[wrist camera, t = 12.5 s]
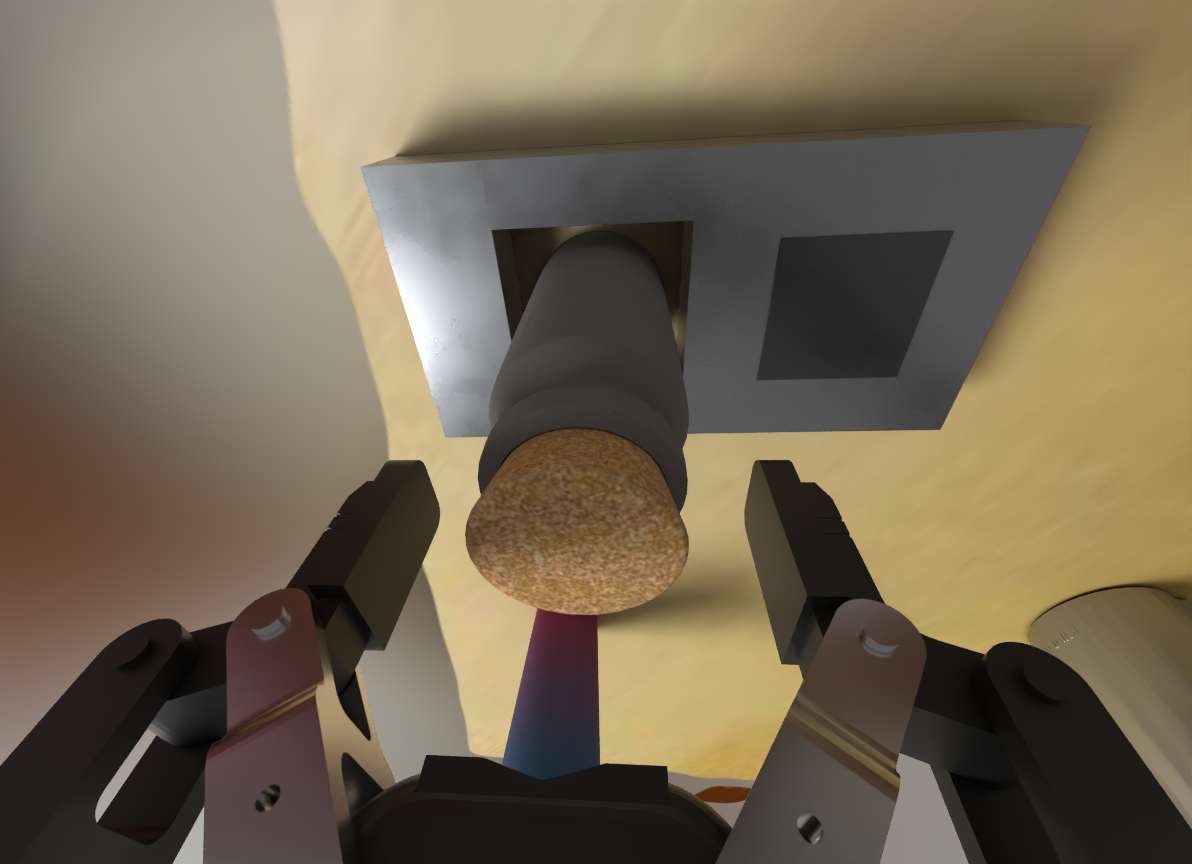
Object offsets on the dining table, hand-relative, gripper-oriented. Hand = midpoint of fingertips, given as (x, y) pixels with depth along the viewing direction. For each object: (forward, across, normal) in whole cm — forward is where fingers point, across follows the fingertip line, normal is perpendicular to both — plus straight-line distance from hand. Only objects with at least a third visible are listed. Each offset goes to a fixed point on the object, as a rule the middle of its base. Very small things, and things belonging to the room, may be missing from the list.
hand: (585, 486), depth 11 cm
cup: (+13, +4, +27) cm, 30 cm away
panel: (+13, -4, 0) cm, 13 cm away
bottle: (+13, 0, 0) cm, 13 cm away
